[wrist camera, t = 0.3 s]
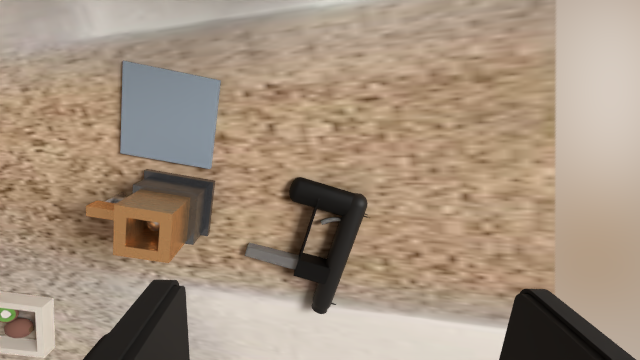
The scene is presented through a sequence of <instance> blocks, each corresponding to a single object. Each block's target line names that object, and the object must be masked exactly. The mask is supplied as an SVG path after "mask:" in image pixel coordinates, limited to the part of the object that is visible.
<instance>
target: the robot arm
mask: <svg viewBox="0 0 640 360" xmlns="http://www.w3.org/2000/svg"><path fill="white" fill-rule="evenodd" d="M83 360H190V359H189V342H188V325H187V308H186V292H185V287H184V286H179V283H178V281H177V280H153V281H152V282H151V283H150V284H149V286H148V287H147V288H146V289H145V290H144V292H143V293H142V294H141V295H140V297H139V298H138V299H137V300H136V301H135V303H134V304H133V305H132V306H131V307H130V309H129V310H128V311H127V312H126V313H125V315H124V316H123V317H122V318H121V319H120V321H119V322H118V323H117V324H116V325H115V327H114V328H113V329H112V330H111V332H110V333H108V334H106V335H104V336H103V337H102V338H101V339H100V340H99V341H98V342H97V343H96V345H95V346H94V347H93V348H92V349H91V351H90V352H89V353H88V354H87V355H86V356H85V358H84V359H83ZM499 360H636V359H635V358H633V357H632V356H631V355H629V354H628V353H627V352H626V351H624V350H623V349H622V348H620V347H619V346H618V345H617V344H615V343H614V342H613V341H612V340H611V339H609V338H608V337H607V336H605V335H604V334H603V333H602V332H600V331H599V330H598V329H597V328H595V327H594V326H593V325H592V324H590V323H589V322H588V321H586V320H585V319H584V318H583V317H581V316H580V315H579V314H578V313H576V312H575V311H574V310H573V309H571V308H570V307H569V306H567V305H566V304H565V303H564V302H562V301H561V300H560V299H559V298H557V297H556V296H555V295H554V294H552V293H551V292H550V291H548V290H545V289H523V290H522V291H521V292H520V294H518V295H517V296H516V297H515V300H514V304H513V308H512V312H511V316H510V320H509V323H508V327H507V331H506V335H505V339H504V343H503V347H502V351H501V355H500V359H499Z"/></svg>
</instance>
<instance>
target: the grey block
mask: <svg viewBox="0 0 640 360" xmlns="http://www.w3.org/2000/svg"><path fill="white" fill-rule="evenodd" d="M214 186H215V181H213V180H207V179H201V178H195V177H190V176H184V175H178V174H172V173H166V172H161V171H155V170H149V169H147V170H144V179H143V180H142V181H140V182H138V183H136V184H134V185H133V193H135V192H137V191H138V190H140V189H141V190H147V191H153V192H159V193H165V194H171V195H177V196H183V197H189V198H190V208H189V220H188V231H187V241H186V242H185V244H192V245H193V244H194V243H195V242H196V240H197V239H198V238H199V236H200V235H203V236H208V235H209V231H210V222H211V213H212V204H213V195H214ZM125 196H126V194H125V193H124V192H121V193H119V194H117V195H115V196H113V197H112V198H110V199H108V200H106V201H104V202H110V203H118V202H120V201H121V200H123V199H125ZM147 226H148V228H149V229H151V230H153V231H158V230H159V229H160V223H158V222H151V221H147Z"/></svg>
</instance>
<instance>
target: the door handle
mask: <svg viewBox="0 0 640 360" xmlns="http://www.w3.org/2000/svg"><path fill="white" fill-rule="evenodd" d="M289 193H290V198H291V199H292V201H294V202H297V203H301V204H304V205H307V206H311V207H314V211H313V214H312V217H311V220H310V223H309V226H308V229H307V232H306V236H305V239H304V242H303V245H302V248H301V251H300V254H299V255H296V254H292V253H289V252H285V251H281V250H277V249H273V248H269V247H265V246H261V245H257V244H253V243H249V244H248V246H247V250H246V253H245V256H248V257H251V258H255V259H258V260H262V261H265V262H269V263H272V264H276V265H280V266H283V267H287V268H290V269H294V270H295V271H294V276H297V277H300V278H304V279H308V280H311V281H315V282H318V285H317V288H316V291H315V294H314V297H313V304H312V309H313V310H314V311H315V312H317V313H319V314H324V313H326V312H327V309H328V308H329V307H330V305H331V304H333V305H336V304H334V303H332V300H333V297H334V295H335V292H336V289H337V286H338V284H339V281H340V278H341V276H342V273H343V270H344V267H345V265H346V262H347V259H348V257H349V254H350V251H351V249H352V246H353V243H354V240H355V238H356V235H357V232H358V230H359V227H360V224H361V222H362V219H363V217H366V216H364V214H365V211H366V208H367V200H366V198H365V197H364V196H363V195H362V194H358V193H356V194H355V193H351V192H348V191H345V190H341V189H338V188H335V187H331V186H328V185H325V184H322V183H318V182H315V181H312V180H308V179H305V178H302V177H299V178H297V179H295V180H294V181H293V183H292V184H291V187H290V192H289ZM317 209H321V210H324V211H328V212H331V213H334V214H338V215H341V216H342V217H341V218H338V217H333V218H327V219H324V220H321V223H322V225H323V224H326V223H329V222H335V221H340V223H339V225H338V228H337V231H336V234H335V237H334V240H333V242H332V245H331V248H330V251H329V254H328V257H327V259H325V258H321V257H317V256H313V255H310V254H306V253H303V250H304V247H305V244H306V241H307V238H308V234H309V231H310V228H311V225H312V222H313V219H314V216H315V213H316V210H317ZM366 215H367V214H366ZM367 218H369V217H367Z"/></svg>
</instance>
